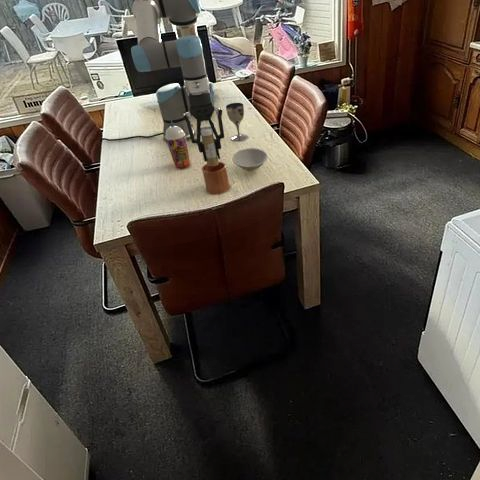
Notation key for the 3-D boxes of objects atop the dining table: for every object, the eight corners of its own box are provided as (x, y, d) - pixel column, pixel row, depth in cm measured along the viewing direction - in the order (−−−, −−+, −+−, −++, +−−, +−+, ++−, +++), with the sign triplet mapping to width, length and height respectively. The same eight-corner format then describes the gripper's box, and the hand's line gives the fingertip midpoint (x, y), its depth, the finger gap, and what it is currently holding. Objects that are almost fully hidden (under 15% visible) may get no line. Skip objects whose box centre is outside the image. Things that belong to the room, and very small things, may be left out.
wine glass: (245, 141, 181) (240, 108, 171) (229, 141, 183) (223, 108, 173) (249, 134, 187) (245, 102, 177) (233, 134, 189) (228, 102, 179)
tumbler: (203, 193, 147) (198, 172, 141) (211, 182, 153) (206, 161, 147) (225, 194, 145) (221, 172, 139) (232, 183, 152) (228, 161, 146)
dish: (231, 162, 166) (229, 151, 162) (264, 156, 167) (263, 145, 164) (237, 181, 152) (235, 169, 149) (272, 174, 154) (271, 163, 151)
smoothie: (183, 172, 162) (171, 124, 149) (169, 168, 166) (156, 122, 153) (196, 163, 168) (185, 117, 154) (182, 160, 171) (170, 114, 158)
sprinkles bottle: (205, 163, 144) (197, 127, 135) (216, 160, 145) (209, 124, 136) (209, 168, 140) (201, 131, 131) (221, 164, 142) (214, 128, 133)
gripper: (172, 99, 122) (189, 167, 138) (226, 90, 124) (236, 158, 140) (171, 92, 128) (187, 158, 143) (223, 84, 130) (233, 150, 145)
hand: (212, 158), depth 141 cm, fingers closed on sprinkles bottle, 4 cm apart
